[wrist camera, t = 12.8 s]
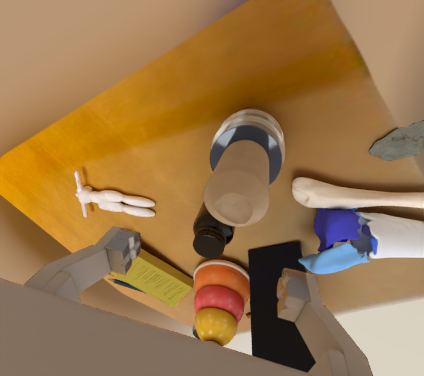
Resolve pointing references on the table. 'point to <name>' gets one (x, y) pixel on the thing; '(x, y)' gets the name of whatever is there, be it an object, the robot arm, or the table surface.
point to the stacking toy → (219, 300)
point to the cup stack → (251, 136)
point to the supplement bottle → (210, 234)
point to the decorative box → (275, 308)
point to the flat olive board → (157, 279)
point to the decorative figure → (112, 200)
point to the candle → (239, 185)
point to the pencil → (125, 284)
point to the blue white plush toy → (357, 225)
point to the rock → (400, 143)
